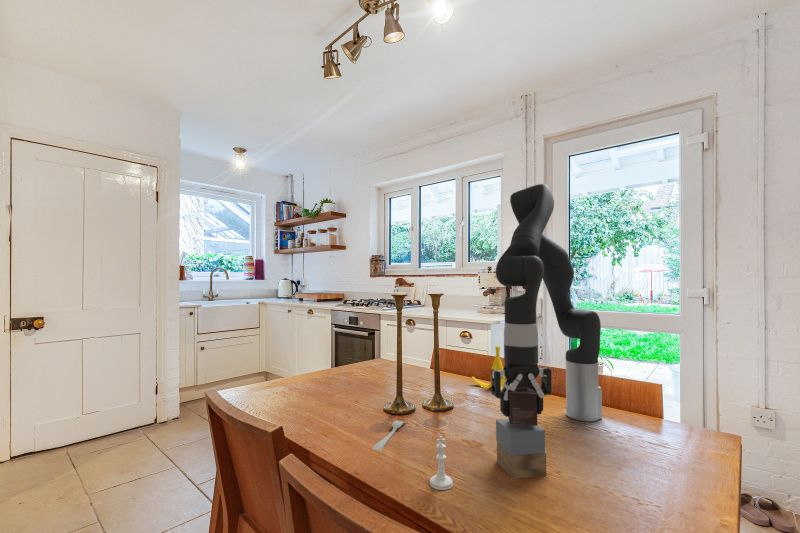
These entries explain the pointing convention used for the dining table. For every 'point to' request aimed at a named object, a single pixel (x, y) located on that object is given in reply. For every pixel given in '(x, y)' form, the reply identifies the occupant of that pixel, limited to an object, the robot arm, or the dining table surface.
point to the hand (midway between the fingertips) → (521, 414)
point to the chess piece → (441, 470)
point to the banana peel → (497, 366)
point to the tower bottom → (522, 463)
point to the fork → (381, 443)
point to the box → (523, 406)
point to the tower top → (520, 438)
